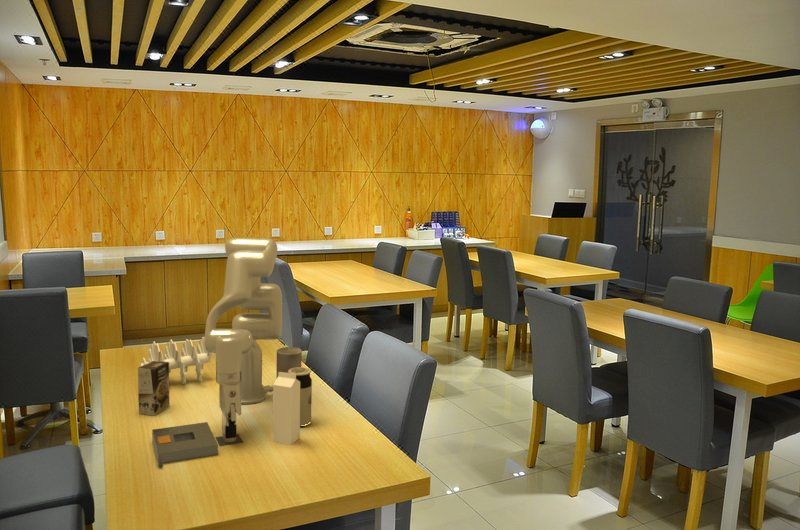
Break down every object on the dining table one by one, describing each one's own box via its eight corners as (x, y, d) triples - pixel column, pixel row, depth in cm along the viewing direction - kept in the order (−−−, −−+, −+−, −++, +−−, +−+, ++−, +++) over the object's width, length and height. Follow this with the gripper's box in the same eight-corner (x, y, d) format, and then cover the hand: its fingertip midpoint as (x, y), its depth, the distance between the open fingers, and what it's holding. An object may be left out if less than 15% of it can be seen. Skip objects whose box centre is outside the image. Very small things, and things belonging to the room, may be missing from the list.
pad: (238, 436, 194) (238, 433, 194) (243, 445, 188) (243, 442, 188) (215, 440, 191) (215, 437, 191) (219, 449, 185) (219, 446, 185)
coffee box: (155, 416, 209) (154, 369, 206) (138, 414, 210) (136, 367, 208) (170, 406, 218) (169, 361, 215) (153, 404, 219) (152, 359, 217)
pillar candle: (279, 379, 250) (279, 343, 248) (303, 380, 250) (303, 344, 247) (273, 388, 240) (273, 350, 238) (299, 389, 240) (299, 351, 238)
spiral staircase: (141, 395, 238) (207, 383, 251) (148, 389, 224) (218, 376, 237) (134, 349, 242) (200, 338, 255) (140, 339, 227) (209, 329, 240)
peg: (234, 436, 192) (234, 405, 191) (237, 441, 189) (237, 409, 187) (221, 438, 191) (221, 406, 189) (223, 443, 187) (223, 411, 186)
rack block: (207, 434, 196) (207, 421, 195) (217, 457, 180) (217, 443, 179) (152, 442, 188) (152, 429, 188) (158, 467, 173) (158, 453, 172)
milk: (282, 437, 195) (283, 368, 192) (300, 440, 193) (300, 371, 191) (272, 444, 190) (273, 374, 187) (290, 448, 188) (291, 376, 185)
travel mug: (282, 425, 204) (282, 372, 202) (294, 417, 212) (294, 365, 209) (303, 429, 202) (304, 375, 199) (315, 421, 209) (316, 368, 207)
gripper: (248, 383, 181) (248, 443, 184) (235, 367, 196) (236, 423, 199) (221, 386, 178) (221, 447, 180) (211, 369, 193) (211, 426, 195)
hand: (229, 434), depth 189 cm, fingers closed on peg, 4 cm apart
